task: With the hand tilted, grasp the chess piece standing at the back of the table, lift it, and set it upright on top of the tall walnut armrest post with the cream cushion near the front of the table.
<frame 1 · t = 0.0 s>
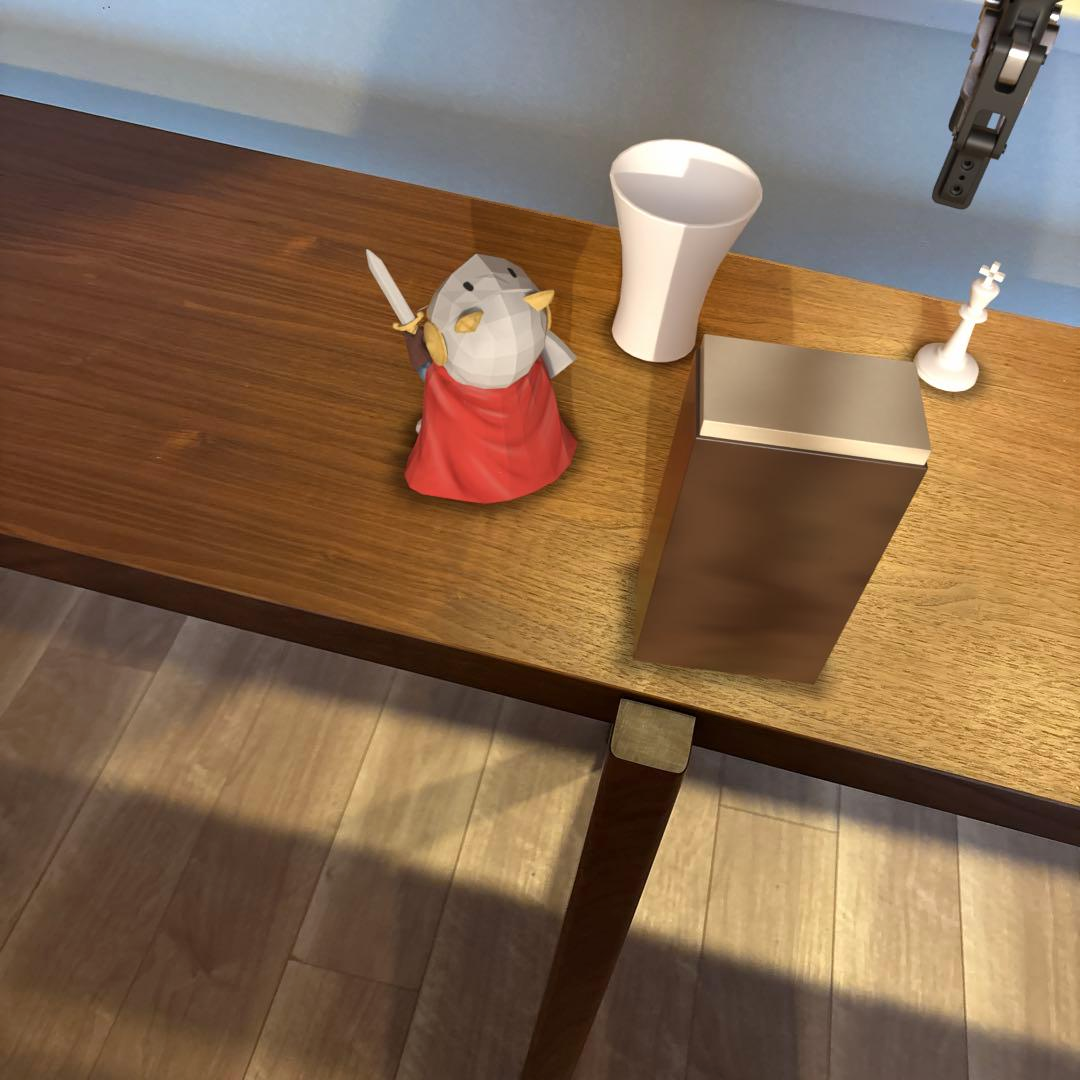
hand: (956, 166, 66), 20 cm above the table, tool pointing down, fingers open, 8 cm apart
cup: (653, 337, 85), on the table
armrest: (723, 628, 68), on the table
chess piece: (943, 371, 86), on the table
figurine: (481, 444, 76), on the table
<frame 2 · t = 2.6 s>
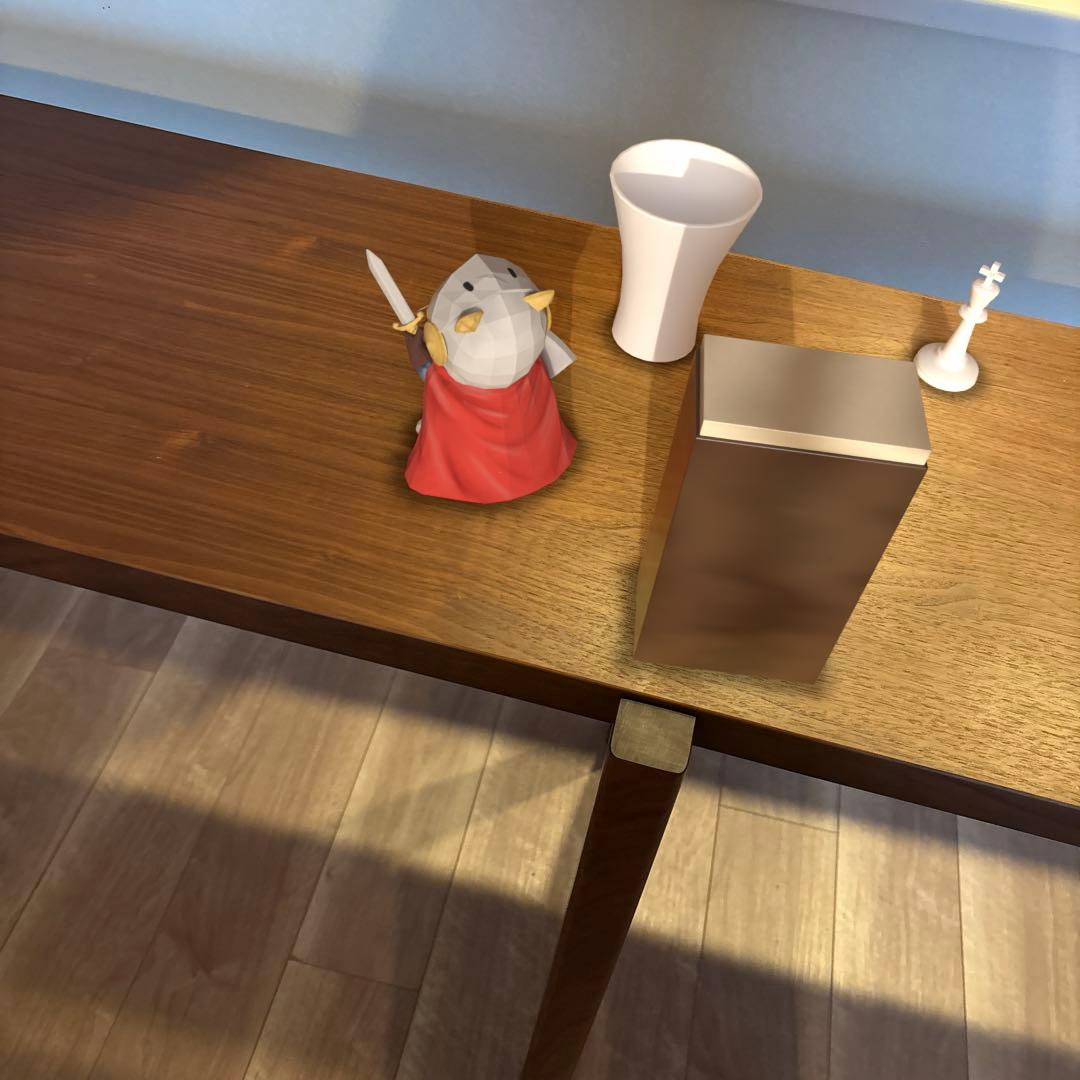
nothing on the table moved.
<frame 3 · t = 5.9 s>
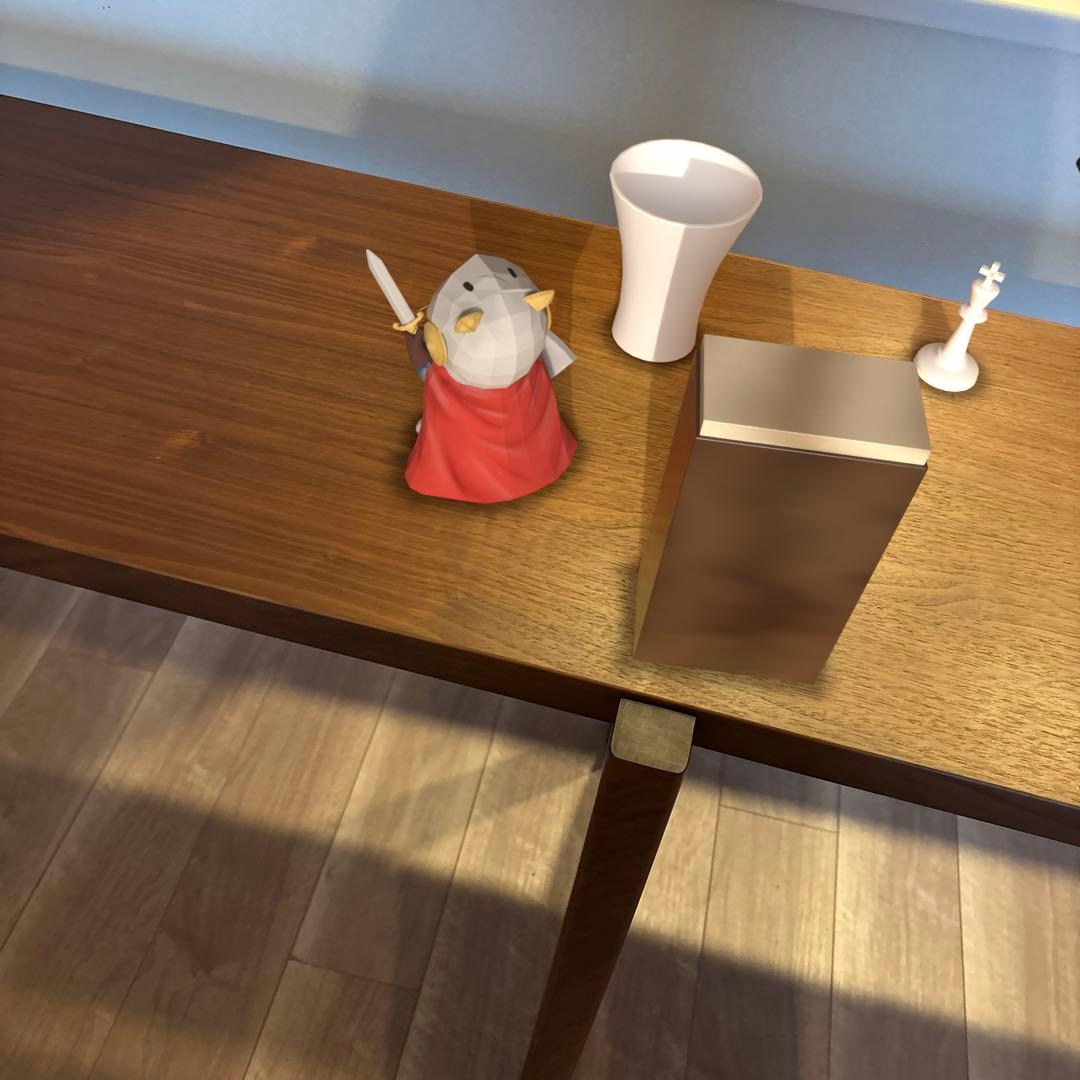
nothing on the table moved.
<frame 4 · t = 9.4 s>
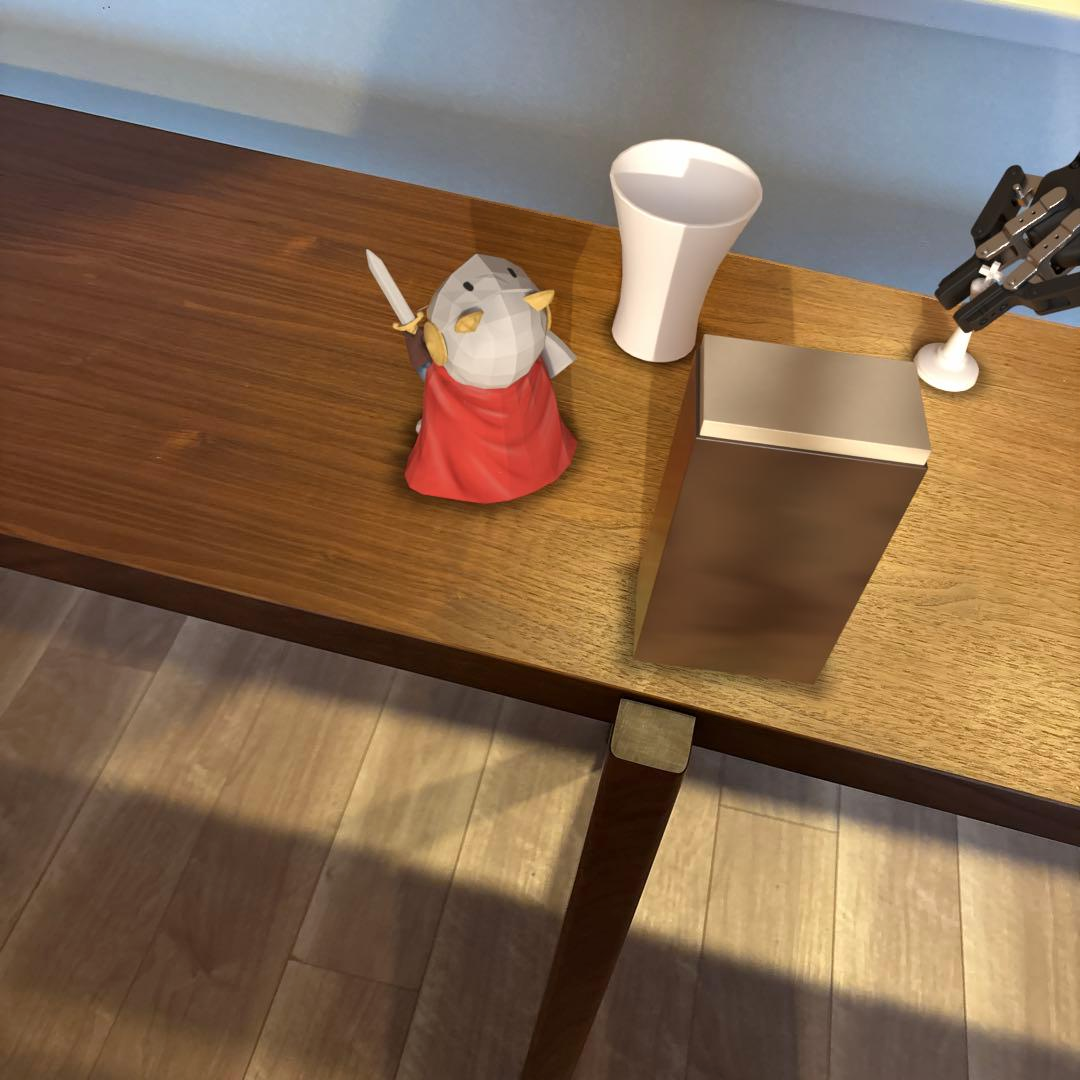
hand: (950, 313, 81), 6 cm above the table, tool tilted 45°, fingers closed on chess piece
chess piece: (943, 371, 86), on the table, touching gripper
everything else where it was.
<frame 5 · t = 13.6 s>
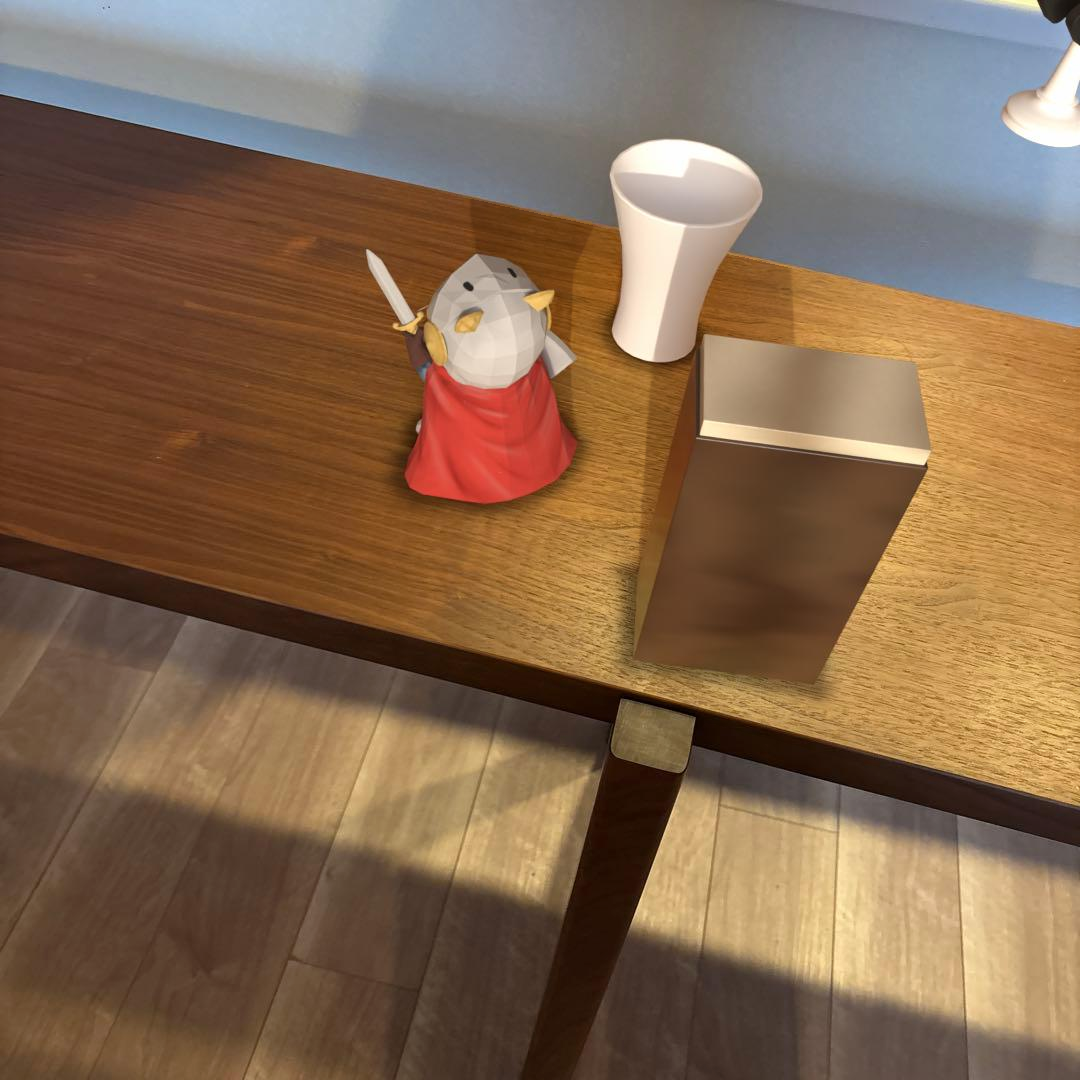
hand: (1059, 21, 57), 30 cm above the table, tool tilted 45°, fingers closed on chess piece
chess piece: (1042, 127, 62), point 24 cm above the table, touching gripper
everything else where it was.
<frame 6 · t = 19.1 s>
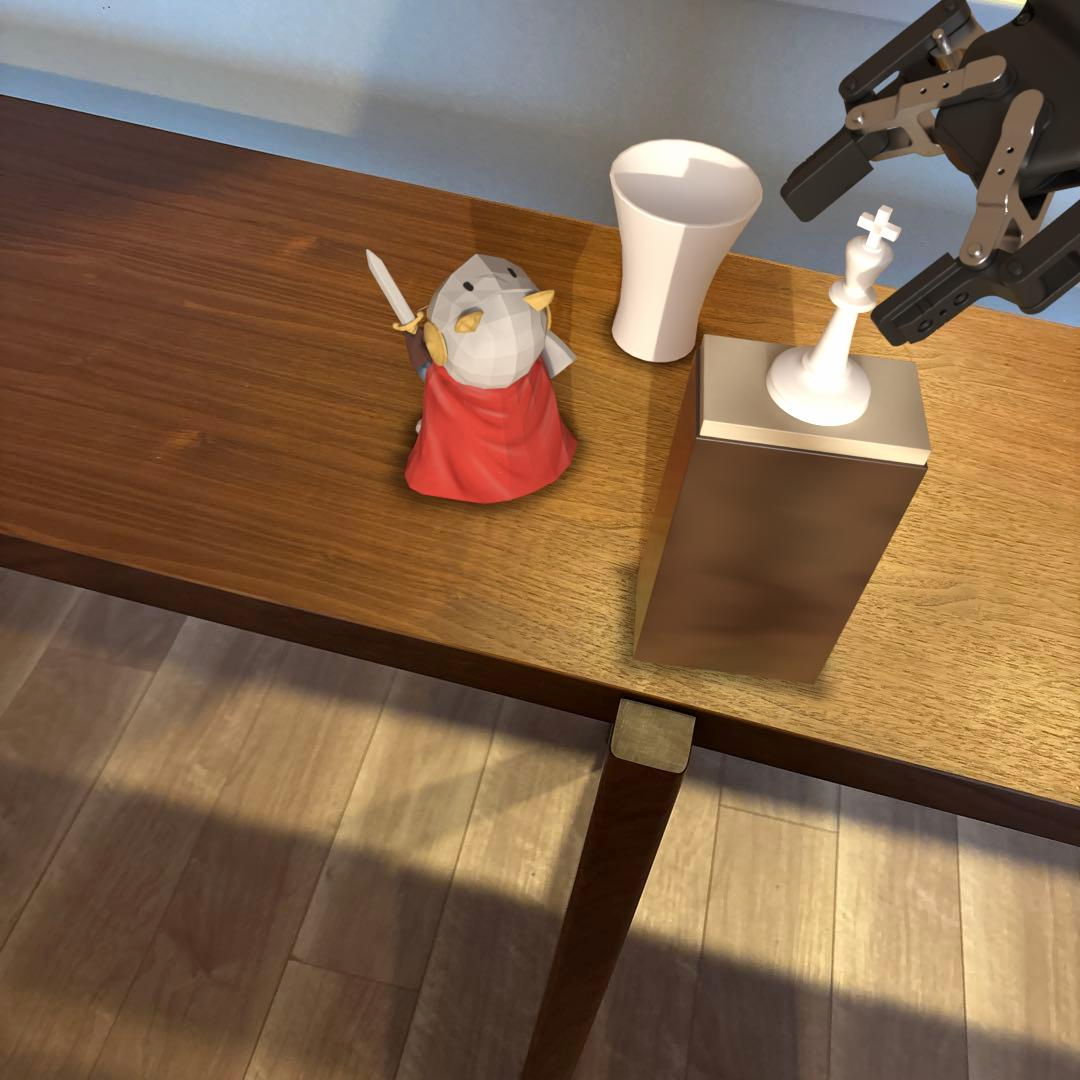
hand: (833, 267, 47), 27 cm above the table, tool tilted 45°, fingers open, 8 cm apart
chess piece: (815, 393, 53), point 20 cm above the table, touching armrest
everything else where it was.
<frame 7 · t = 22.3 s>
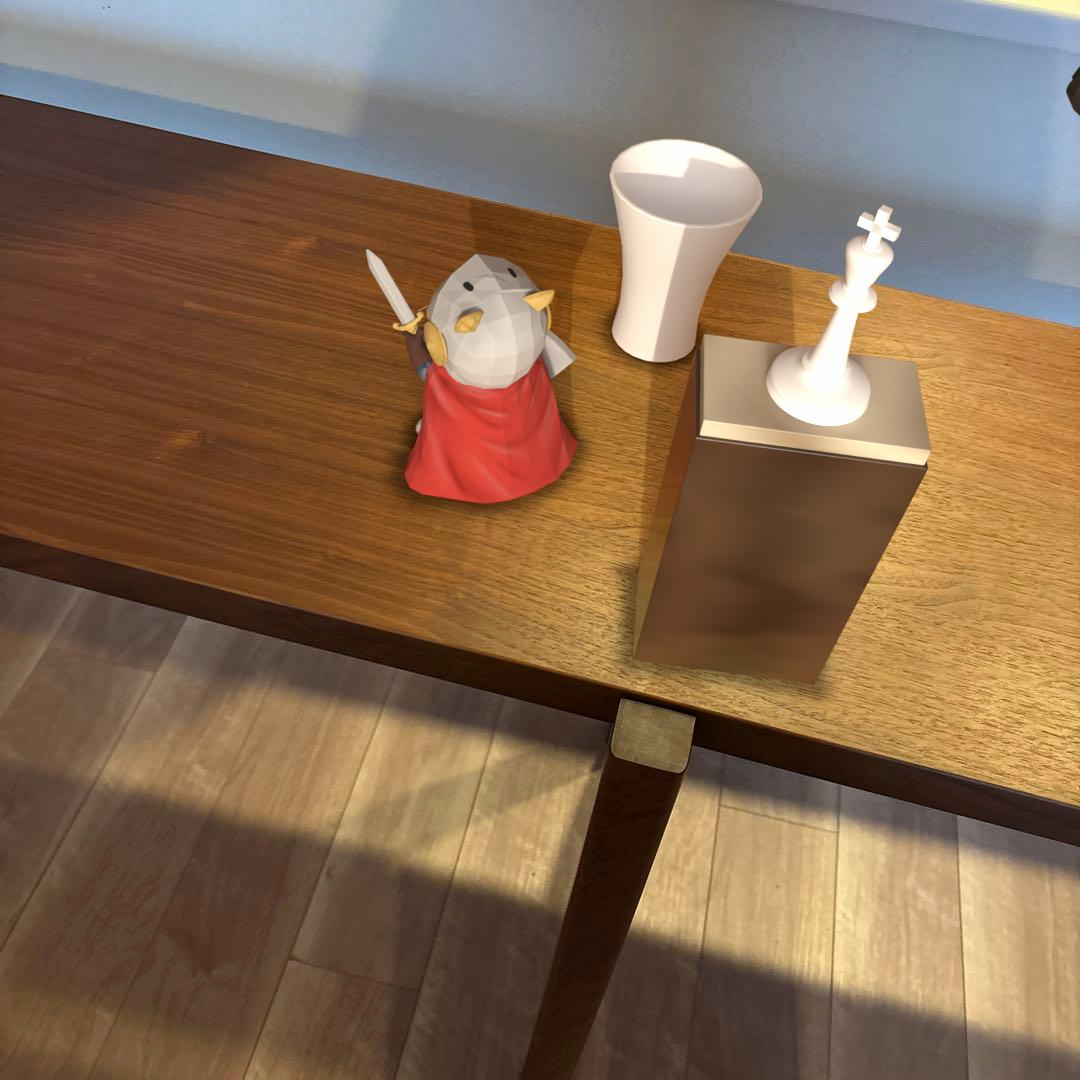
nothing on the table moved.
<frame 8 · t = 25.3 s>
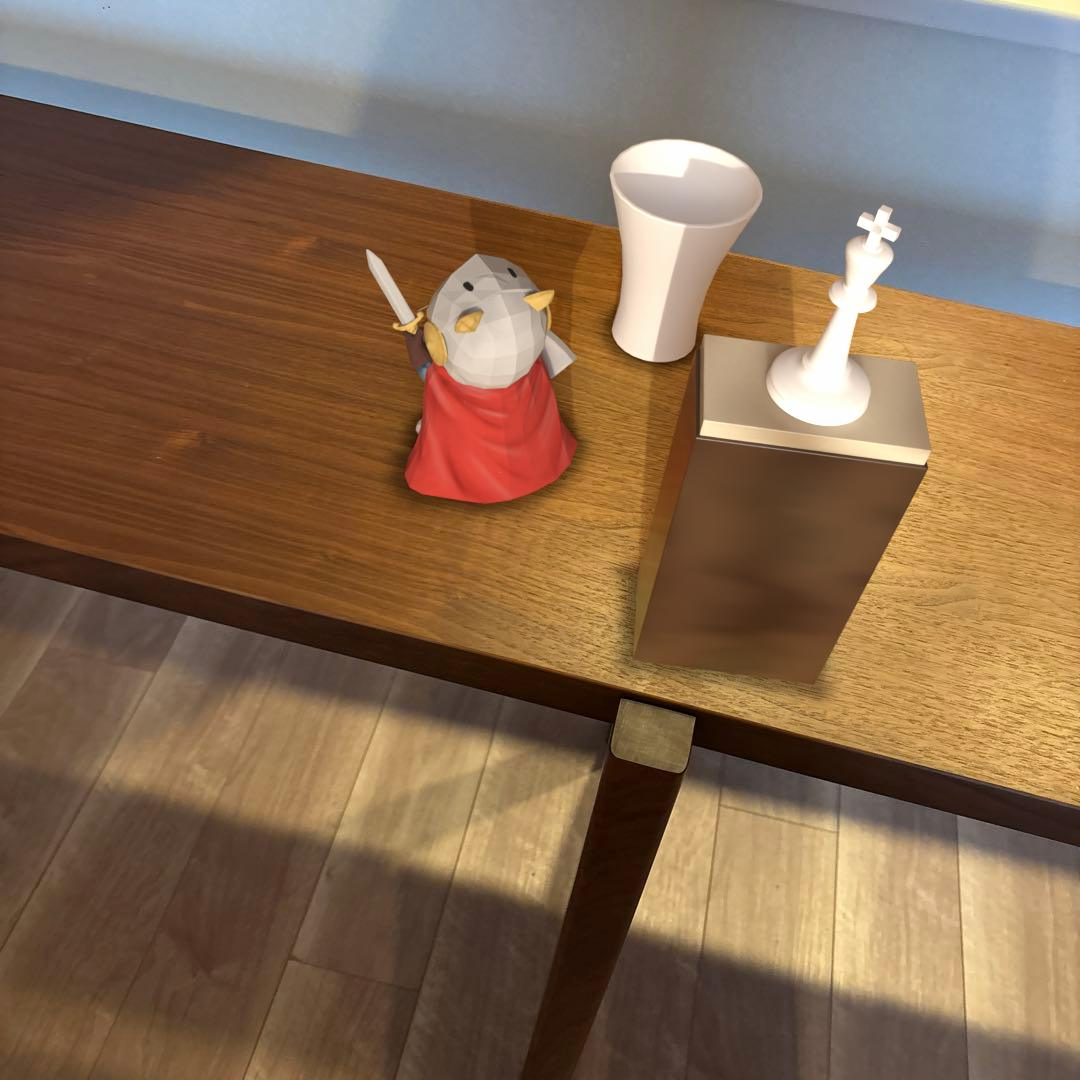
nothing on the table moved.
at the end: chess piece inside the target area on the armrest (0.1 cm from its centre), point 19.8 cm above the armrest's base; chess piece tilted 0°; the gripper is holding nothing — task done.
